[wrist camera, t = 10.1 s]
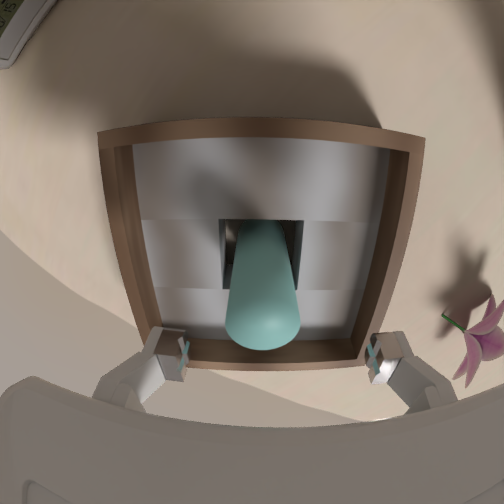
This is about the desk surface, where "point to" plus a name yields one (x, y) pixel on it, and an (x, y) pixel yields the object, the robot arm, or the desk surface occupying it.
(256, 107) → the desk surface
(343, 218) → the bore box
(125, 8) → the desk surface
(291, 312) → the peg
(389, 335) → the robot arm
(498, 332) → the lily
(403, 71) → the desk surface
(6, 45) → the digital clock
